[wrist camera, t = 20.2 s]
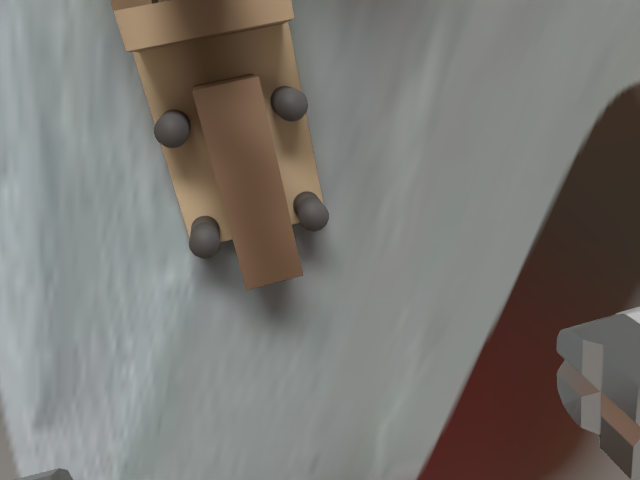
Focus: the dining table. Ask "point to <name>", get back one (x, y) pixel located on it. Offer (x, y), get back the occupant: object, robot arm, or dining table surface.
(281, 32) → the board
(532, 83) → the dining table surface
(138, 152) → the dining table surface
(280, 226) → the bar
